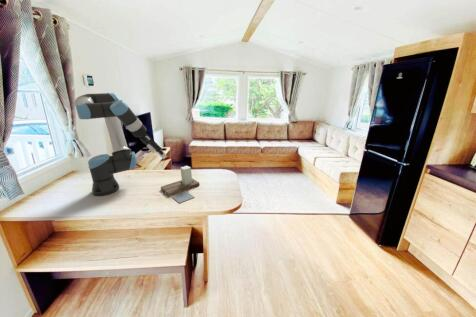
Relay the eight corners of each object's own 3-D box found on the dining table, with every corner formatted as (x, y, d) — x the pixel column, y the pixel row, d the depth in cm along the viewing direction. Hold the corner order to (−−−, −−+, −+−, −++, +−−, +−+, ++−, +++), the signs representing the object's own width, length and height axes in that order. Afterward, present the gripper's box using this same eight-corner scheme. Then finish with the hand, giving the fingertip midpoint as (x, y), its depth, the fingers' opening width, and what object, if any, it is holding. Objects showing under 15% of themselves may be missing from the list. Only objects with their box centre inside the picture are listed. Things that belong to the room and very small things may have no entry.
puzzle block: (182, 185, 142) (180, 167, 137) (188, 182, 145) (187, 165, 140) (185, 187, 138) (184, 169, 134) (192, 185, 141) (190, 167, 137)
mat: (171, 197, 126) (171, 196, 126) (186, 191, 133) (186, 191, 133) (179, 203, 119) (179, 202, 119) (194, 197, 126) (194, 196, 125)
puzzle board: (161, 189, 136) (160, 186, 135) (190, 179, 149) (190, 177, 149) (168, 196, 127) (168, 193, 127) (199, 185, 141) (199, 182, 140)
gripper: (122, 127, 117) (146, 153, 131) (140, 137, 101) (164, 165, 115) (133, 119, 120) (155, 145, 134) (152, 127, 104) (174, 155, 118)
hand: (159, 154), depth 125 cm, fingers open, 13 cm apart
